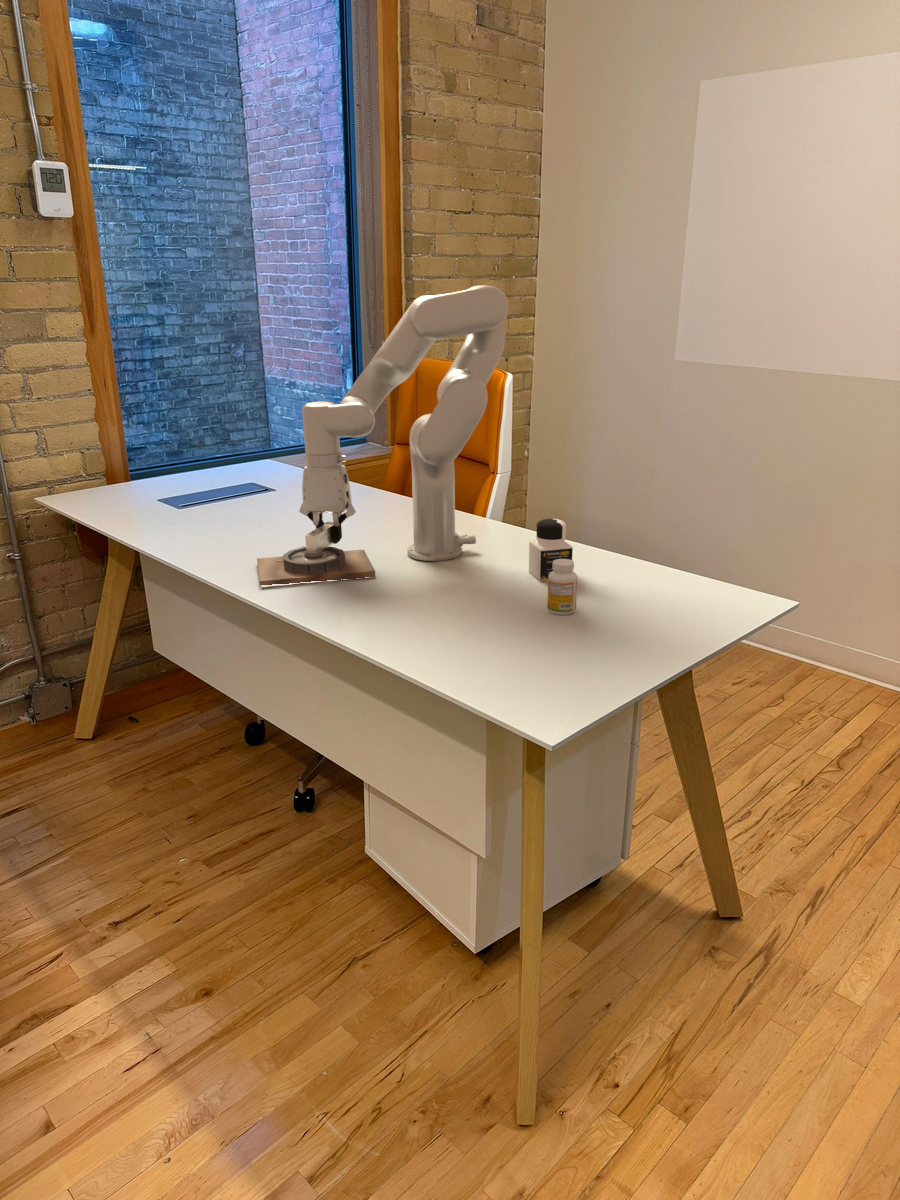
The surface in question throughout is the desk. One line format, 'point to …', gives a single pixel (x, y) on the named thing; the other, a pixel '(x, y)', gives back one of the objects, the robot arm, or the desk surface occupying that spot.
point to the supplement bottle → (562, 587)
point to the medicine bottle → (548, 548)
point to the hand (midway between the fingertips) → (329, 540)
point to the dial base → (314, 568)
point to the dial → (317, 546)
